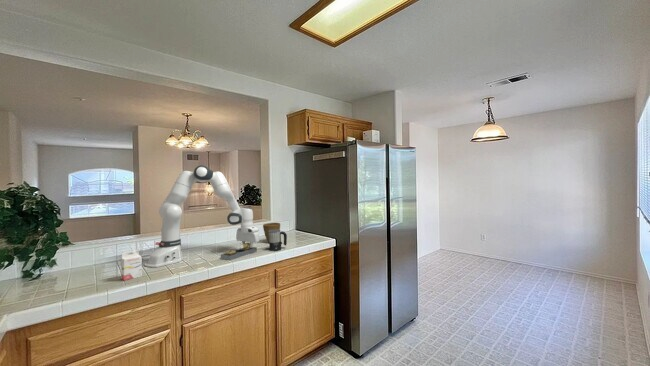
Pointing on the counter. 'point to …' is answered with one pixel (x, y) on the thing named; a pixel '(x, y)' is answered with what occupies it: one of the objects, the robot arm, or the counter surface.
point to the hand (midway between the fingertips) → (247, 247)
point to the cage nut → (246, 246)
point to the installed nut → (230, 252)
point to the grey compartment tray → (238, 253)
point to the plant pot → (270, 228)
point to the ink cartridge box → (131, 265)
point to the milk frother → (276, 239)
